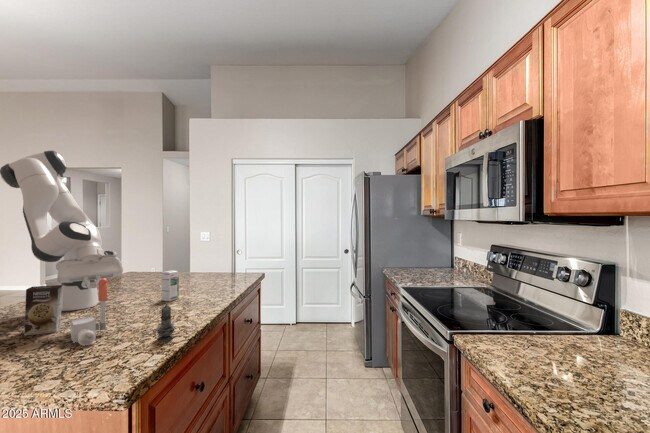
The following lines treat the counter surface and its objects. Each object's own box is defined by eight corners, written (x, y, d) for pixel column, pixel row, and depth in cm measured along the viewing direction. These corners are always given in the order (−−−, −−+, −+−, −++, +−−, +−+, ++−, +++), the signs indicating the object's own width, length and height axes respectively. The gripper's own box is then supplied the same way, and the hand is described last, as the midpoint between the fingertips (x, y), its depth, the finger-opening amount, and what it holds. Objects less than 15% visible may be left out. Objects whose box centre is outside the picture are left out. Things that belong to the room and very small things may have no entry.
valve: (68, 333, 115) (69, 316, 115) (93, 328, 120) (93, 312, 120) (75, 348, 102) (75, 329, 102) (103, 342, 107) (103, 324, 107)
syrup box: (169, 301, 160) (170, 272, 161) (160, 300, 163) (161, 271, 163) (178, 298, 166) (179, 270, 166) (170, 297, 168) (170, 270, 168)
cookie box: (23, 336, 112) (24, 289, 112) (30, 330, 117) (31, 286, 118) (56, 332, 116) (57, 287, 116) (61, 326, 122) (62, 284, 122)
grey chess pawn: (160, 335, 114) (161, 301, 114) (177, 335, 114) (178, 301, 114) (153, 341, 108) (153, 305, 108) (171, 341, 108) (171, 305, 109)
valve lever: (97, 329, 115) (98, 278, 115) (105, 328, 116) (106, 277, 117) (98, 331, 112) (99, 279, 113) (107, 330, 114) (108, 278, 114)
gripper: (56, 255, 118) (56, 286, 111) (121, 251, 132) (125, 278, 124) (55, 266, 122) (56, 296, 114) (119, 261, 135) (123, 288, 128)
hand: (92, 287), depth 119 cm, fingers closed
